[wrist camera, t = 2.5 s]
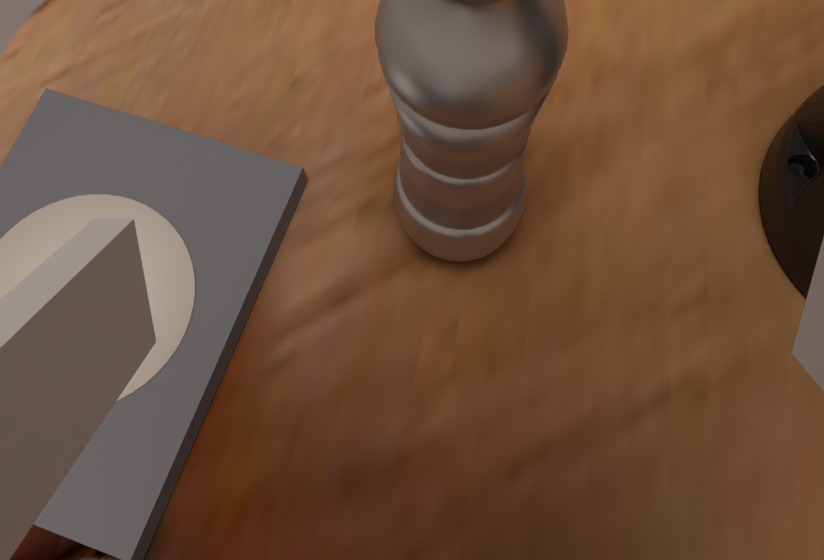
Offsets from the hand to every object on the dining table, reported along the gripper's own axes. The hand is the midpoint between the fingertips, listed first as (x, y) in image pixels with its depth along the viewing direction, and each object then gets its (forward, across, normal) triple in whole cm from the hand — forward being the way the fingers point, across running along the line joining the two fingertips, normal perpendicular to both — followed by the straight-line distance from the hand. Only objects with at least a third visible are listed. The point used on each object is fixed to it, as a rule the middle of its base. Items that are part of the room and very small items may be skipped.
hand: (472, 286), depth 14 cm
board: (+19, -18, -11) cm, 28 cm away
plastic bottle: (+23, 0, -7) cm, 24 cm away
